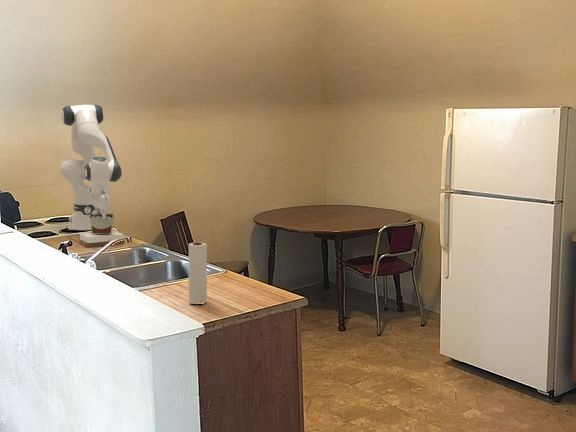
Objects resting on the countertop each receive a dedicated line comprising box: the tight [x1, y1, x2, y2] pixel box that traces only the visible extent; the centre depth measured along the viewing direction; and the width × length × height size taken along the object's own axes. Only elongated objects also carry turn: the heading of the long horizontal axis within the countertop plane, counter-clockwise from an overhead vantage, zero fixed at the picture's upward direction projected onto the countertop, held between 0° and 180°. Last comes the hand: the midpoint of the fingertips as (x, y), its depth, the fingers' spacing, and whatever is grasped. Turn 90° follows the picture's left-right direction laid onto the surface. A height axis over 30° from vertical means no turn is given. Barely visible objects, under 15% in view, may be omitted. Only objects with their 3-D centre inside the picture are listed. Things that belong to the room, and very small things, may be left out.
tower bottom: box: [78, 238, 125, 249], centre depth 337 cm, size 13×19×3 cm
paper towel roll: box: [188, 242, 208, 305], centre depth 233 cm, size 7×6×21 cm
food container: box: [89, 213, 115, 234], centre depth 335 cm, size 12×6×10 cm, turn 91°
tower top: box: [79, 230, 124, 243], centre depth 336 cm, size 12×18×3 cm, turn 126°
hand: (101, 217), depth 335 cm, fingers open, 8 cm apart
